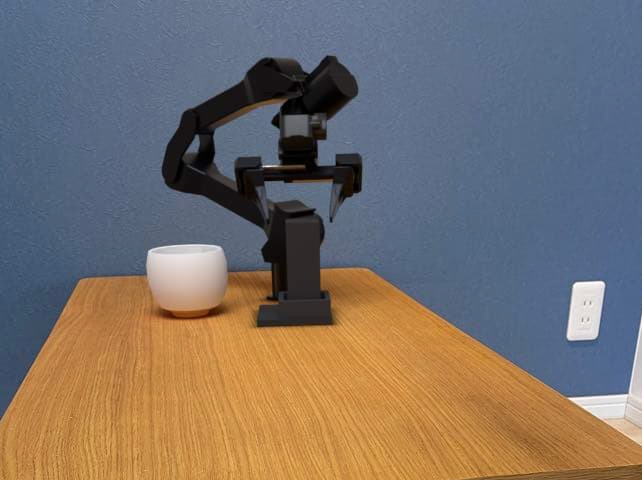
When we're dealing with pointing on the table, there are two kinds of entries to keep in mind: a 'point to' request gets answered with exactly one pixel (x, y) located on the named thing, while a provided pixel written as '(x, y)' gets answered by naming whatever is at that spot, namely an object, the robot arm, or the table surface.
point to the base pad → (296, 311)
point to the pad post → (303, 258)
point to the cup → (187, 278)
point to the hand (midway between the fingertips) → (299, 221)
